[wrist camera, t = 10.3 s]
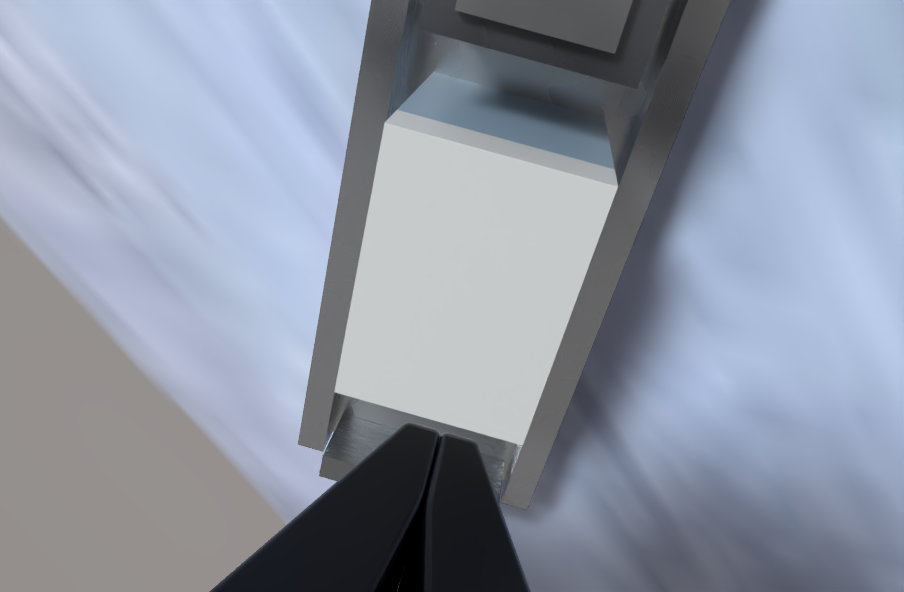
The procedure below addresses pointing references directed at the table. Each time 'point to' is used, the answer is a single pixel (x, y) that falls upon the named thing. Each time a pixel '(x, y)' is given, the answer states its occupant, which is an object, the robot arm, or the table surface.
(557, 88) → the din rail
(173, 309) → the table surface
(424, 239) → the block
